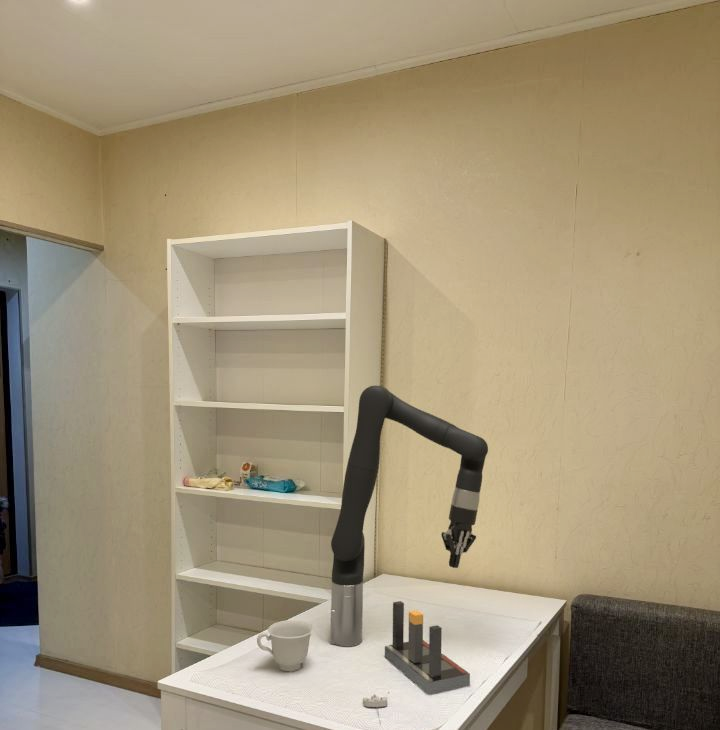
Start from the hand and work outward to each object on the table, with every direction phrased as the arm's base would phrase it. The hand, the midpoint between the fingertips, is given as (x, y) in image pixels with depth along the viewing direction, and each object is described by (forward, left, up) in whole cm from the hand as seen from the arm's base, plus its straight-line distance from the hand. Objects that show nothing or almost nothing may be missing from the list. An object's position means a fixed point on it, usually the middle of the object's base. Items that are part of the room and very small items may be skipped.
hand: (453, 566), depth 177 cm
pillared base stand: (-9, -11, -24) cm, 28 cm away
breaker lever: (-12, -12, -21) cm, 27 cm away
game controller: (-22, -32, -25) cm, 46 cm away
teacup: (-46, -10, -24) cm, 53 cm away
